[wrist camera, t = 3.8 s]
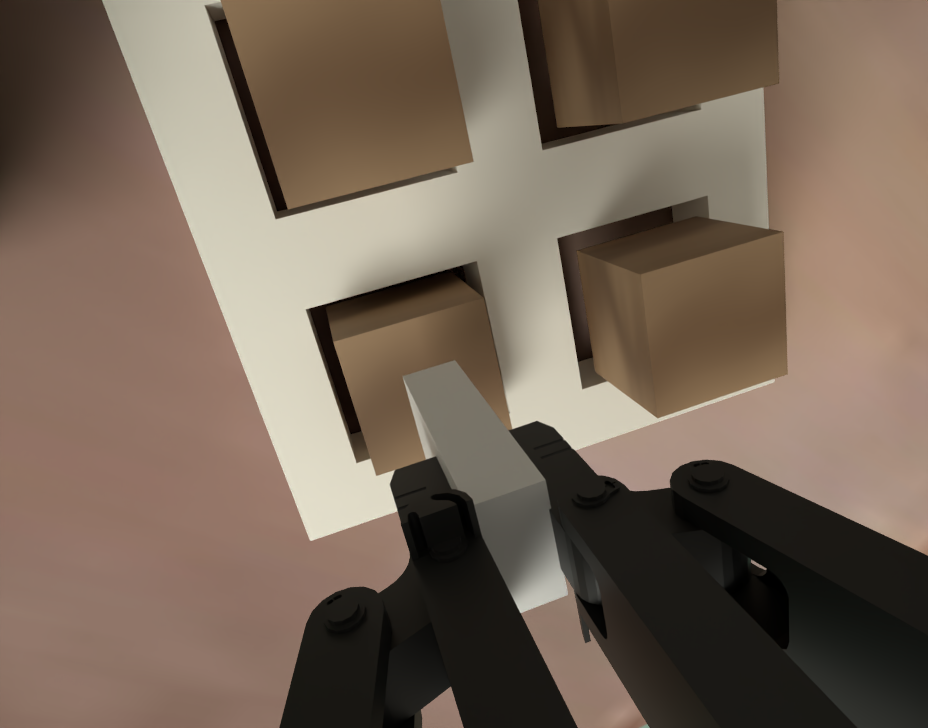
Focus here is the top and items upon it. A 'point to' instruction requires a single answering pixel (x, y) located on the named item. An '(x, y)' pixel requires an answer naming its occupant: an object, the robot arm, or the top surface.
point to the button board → (423, 232)
